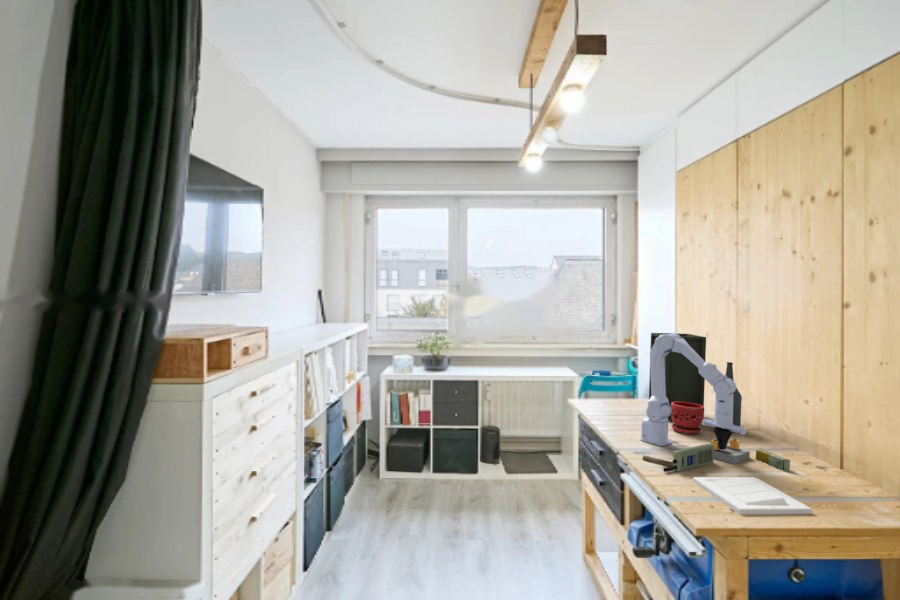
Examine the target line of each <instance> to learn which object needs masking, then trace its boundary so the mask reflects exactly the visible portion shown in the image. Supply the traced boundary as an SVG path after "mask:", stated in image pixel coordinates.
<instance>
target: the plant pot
mask: <svg viewBox="0 0 900 600" xmlns="http://www.w3.org/2000/svg"><path fill="white" fill-rule="evenodd" d="M686 413H688V414H689V415H688V416H686ZM692 415H693V416H692ZM704 416H705V405H704V406H702V405H699V404H694V403H688V402H672V403H671V418H672V421H671V422H672V424H671V428H672V430H674V431H676V432H678V433H681V434H683V433H684V434H687V435H697V434H700V433H701V431H702V429H701V426H702V420H703V419H704V418H705V417H704Z"/></svg>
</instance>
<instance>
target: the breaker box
mask: <svg viewBox="0 0 900 600" xmlns="http://www.w3.org/2000/svg"><path fill="white" fill-rule="evenodd" d="M750 456H751V451H750V450H747V449H742V448H740V449H737V450H736V449H732V448H730V445H728V444H727V445H726V449H724V450H721V449H719V450H715V449H714V459H716V460H719V461H722V462H725V463H729V464H732V465H736V464H738V463H742V462H744V461H746V460H748V459H750Z"/></svg>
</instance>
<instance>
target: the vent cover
mask: <svg viewBox="0 0 900 600" xmlns="http://www.w3.org/2000/svg"><path fill="white" fill-rule="evenodd" d="M692 482H693V483H694V484H695V485H696V486H698V487H700V488H701V489H703V491H705V492H707V493H709V494H710V495H711V496H712V497H714V498H715V499H716V500H718V501H720V502H721V503H723V504H724V505H725V506H726V507H729V508H730V510H733V512H735V513H737V514H738V515H811V514H813V508H811V507H809V506H807V505H806V504H804V503H803V502H801V501H799V500H797V499H795V498H793V497H791V496H790V495H788V494H786V493H784V492H783V491H781V490H779V489H777V488H775V487H773V486H772V485H770V484H769V483H766V482H764V481H762V480H761V479H759V478H757V477H753V476H752V477H750V476H749V477H747V476H744V477H743V476H739V477H738V476H735V477H734V476H733V477H729V476H725V477H723V476H720V477H719V476H713V477H712V476H702V477H700V476H694V477H692Z"/></svg>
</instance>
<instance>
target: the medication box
mask: <svg viewBox="0 0 900 600" xmlns="http://www.w3.org/2000/svg"><path fill="white" fill-rule="evenodd" d="M755 460H756V461H759V462H760V461H761V463H763V464H765V463H766V464H765V465H767V464H768V466H770V467H772V466H773V467H772V468H774V467H775V469H777V470H779V469H780V471H782V470H783V472H789V471H790V470H791V467H790V466H791V459H788V458H785V457H784V456H780V455H777V454H776V453H775V454H774V453H772V452H769V451H767V450H765V449H761V448H759V449H758V448H757V449H756V450H755Z"/></svg>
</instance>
